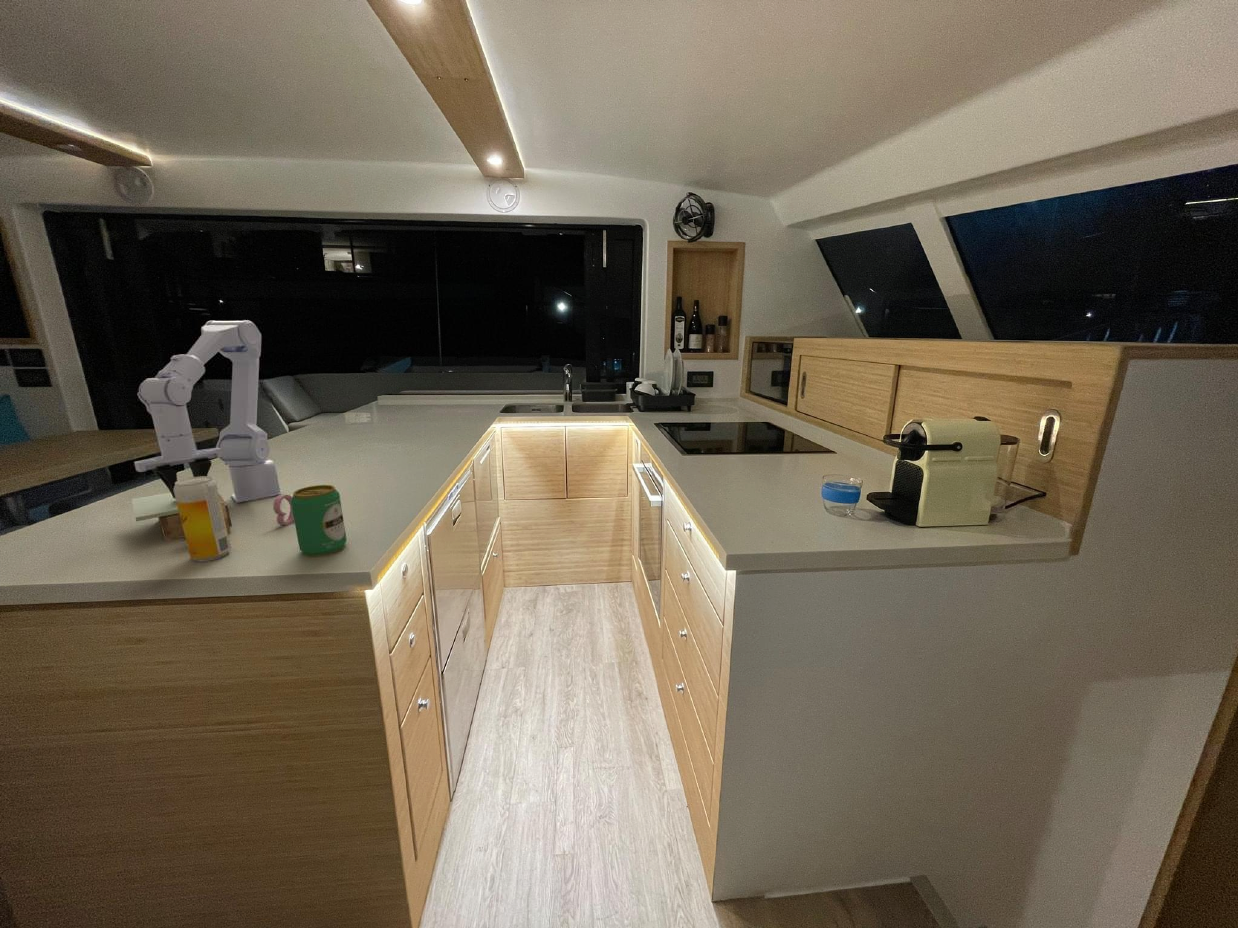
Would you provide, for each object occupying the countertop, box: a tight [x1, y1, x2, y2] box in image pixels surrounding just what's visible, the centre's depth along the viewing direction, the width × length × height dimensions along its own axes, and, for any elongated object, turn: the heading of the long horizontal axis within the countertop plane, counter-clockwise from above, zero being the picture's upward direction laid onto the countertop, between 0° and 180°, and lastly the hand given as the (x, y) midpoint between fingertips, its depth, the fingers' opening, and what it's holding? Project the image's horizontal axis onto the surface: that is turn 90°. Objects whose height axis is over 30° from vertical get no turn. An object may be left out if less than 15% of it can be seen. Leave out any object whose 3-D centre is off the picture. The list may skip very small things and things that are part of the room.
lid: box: [131, 492, 179, 522], centre depth 107 cm, size 12×16×4 cm
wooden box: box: [157, 493, 233, 541], centre depth 111 cm, size 11×16×5 cm
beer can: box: [173, 475, 232, 562], centre depth 93 cm, size 6×6×15 cm
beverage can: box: [291, 484, 348, 558], centre depth 96 cm, size 8×8×12 cm
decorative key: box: [272, 494, 294, 526], centre depth 117 cm, size 7×1×20 cm
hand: (189, 495), depth 110 cm, fingers open, 4 cm apart
